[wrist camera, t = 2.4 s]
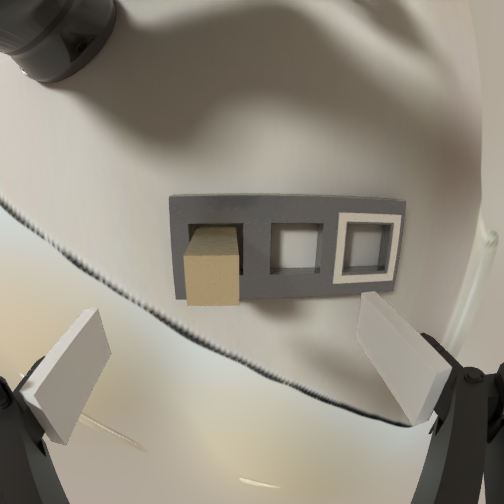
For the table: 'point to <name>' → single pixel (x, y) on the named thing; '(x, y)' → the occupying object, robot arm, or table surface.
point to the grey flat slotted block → (293, 211)
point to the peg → (212, 267)
